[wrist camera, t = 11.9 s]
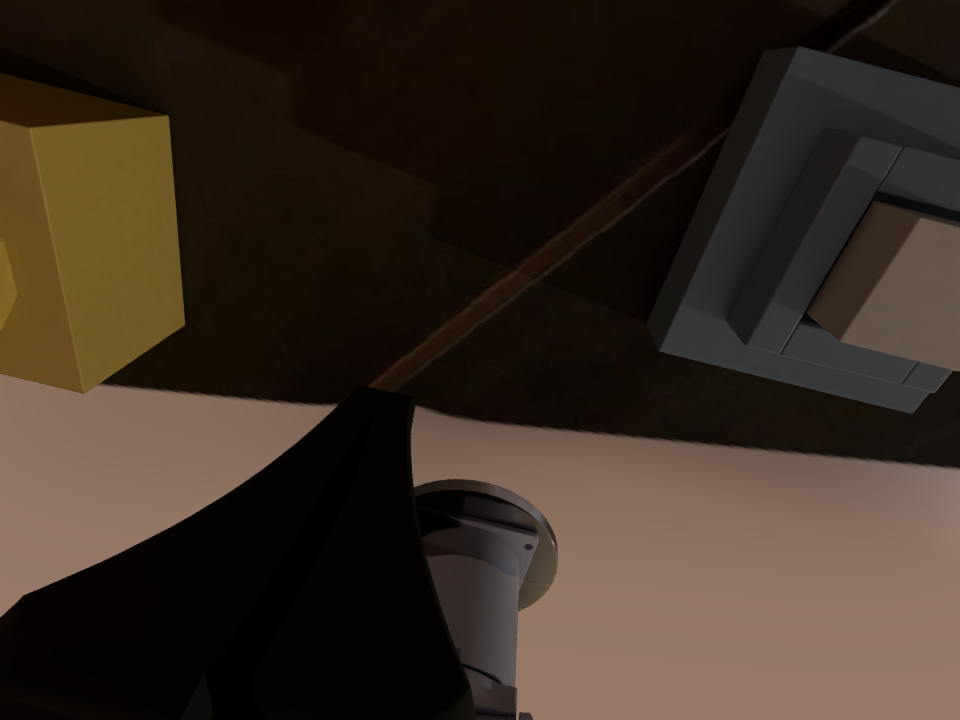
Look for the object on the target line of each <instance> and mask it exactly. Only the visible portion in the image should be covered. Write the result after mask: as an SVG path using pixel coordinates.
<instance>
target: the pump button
mask: <svg viewBox="0 0 960 720" xmlns="http://www.w3.org/2000/svg"><path fill="white" fill-rule="evenodd" d="M807 314H808V315H809V316H810V317H811V318H813V319H814V320H815V321H816V322H817V323H818V324H819V325H821V326H822V327H823V328H824V329H825V330H826V331H828V332H829V333H830V334H831V335H832V336H833V337H835V338H836V339H837V340H838V341H839V342H843V343H847V344H851V345H855V346H859V347H863V348H867V349H871V350H875V351H879V352H883V353H887V354H891V355H895V356H899V357H903V358H907V359H911V360H915V361H919V362H923V363H927V364H931V365H935V366H939V367H943V368H947V369H951V370H955V371H960V222H957V221H953V220H949V219H945V218H941V217H937V216H934V215H930V214H926V213H922V212H918V211H914V210H910V209H906V208H902V207H898V206H894V205H890V204H887V203H883V202H879V201H873V202H872V204H871V205H870V207H869V209H868V210H867V212H866V214H865V215H864V217H863V219H862V220H861V222H860V224H859V225H858V227H857V229H856V230H855V232H854V234H853V235H852V237H851V239H850V240H849V242H848V244H847V245H846V247H845V249H844V250H843V252H842V254H841V255H840V257H839V259H838V260H837V262H836V264H835V265H834V267H833V269H832V271H831V272H830V274H829V276H828V277H827V279H826V281H825V282H824V284H823V286H822V287H821V289H820V291H819V292H818V294H817V296H816V297H815V299H814V301H813V302H812V304H811V306H810V307H809V309H808V311H807Z"/></svg>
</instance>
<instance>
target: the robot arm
mask: <svg viewBox="0 0 960 720" xmlns="http://www.w3.org/2000/svg"><path fill="white" fill-rule="evenodd" d="M415 406H416V401H415V400H414V399H413V397H410V396H405V395H401V394H397V393H392V392H388V391H384V390H379V389H375V388H371V387H366V386H362V385H359V386H357V387H356V388H354V389H353V390H352V392H351V393H350V394H349V395H348V396H347V397H346V398H345V399H344V400H343V401H342V402H341V403H340V404H339V405H338V406H337V407H336V408H335V409H334V410H333V411H332V412H331V413H330V414H329V415H328V416H326V417H325V418H324V419H323V420H322V421H321V422H320V423H319V424H318V425H317V426H316V427H314V428H313V429H312V430H311V431H310V432H309V433H308V434H306V435H305V436H304V437H303V438H302V439H301V440H299V441H298V442H297V443H296V444H295V445H293V446H292V447H291V448H290V449H288V450H287V451H286V452H284V453H283V454H282V455H281V456H279V457H278V458H277V459H275V460H274V461H273V462H272V463H270V464H269V465H268V466H266V467H265V468H264V469H263V470H261V471H260V472H258V473H257V474H255V475H254V476H253V477H251V478H250V479H248V480H247V481H245V482H244V483H243V484H241V485H240V486H238V487H237V488H235V489H234V490H232V491H231V492H229V493H228V494H226V495H224V496H223V497H221V498H220V499H218V500H216V501H215V502H213V503H212V504H210V505H208V506H206V507H205V508H203V509H201V510H200V511H198V512H196V513H195V514H193V515H191V516H190V517H188V518H186V519H184V520H183V521H181V522H179V523H177V524H176V525H174V526H172V527H170V528H168V529H166V530H164V531H162V532H160V533H158V534H156V535H155V536H153V537H150V538H149V539H147V540H145V541H143V542H141V543H139V544H137V545H135V546H133V547H131V548H129V549H127V550H125V551H123V552H121V553H119V554H117V555H115V556H113V557H111V558H109V559H107V560H105V561H102V562H100V563H98V564H95V565H93V566H91V567H89V568H86V569H84V570H82V571H80V572H77V573H75V574H73V575H70V576H68V577H66V578H63V579H61V580H59V581H57V582H54V583H52V584H50V585H47V586H45V587H43V588H40V589H38V590H36V591H33V592H31V593H28V594H26V595H24V596H23V597H22V598H21V599H20V600H19V601H18V602H17V603H16V604H15V605H14V606H12V607H11V608H10V609H9V610H8V611H7V612H6V613H5V614H4V615H3V616H2V617H0V720H516V704H517V688H516V687H515V673H516V646H517V620H518V595H519V589H520V586H521V584H522V581H523V579H524V576H525V574H526V572H527V569H528V567H529V564H530V562H531V559H532V557H533V555H534V552H535V550H536V547H537V545H538V541H539V537H538V534H536V533H535V532H532V531H528V530H524V529H520V528H515V527H511V526H507V525H503V524H499V523H495V522H490V521H486V520H482V519H478V518H474V517H469V516H465V515H461V514H457V513H453V512H449V511H444V510H440V509H436V508H432V507H428V506H423V505H417V506H416V501H415V494H414V486H413V477H412V464H411V428H412V422H413V417H414V411H415ZM418 518H421V519H418ZM527 544H530V545H527ZM519 720H533V718H532V715H531V714H530V713H522V712H520V713H519Z"/></svg>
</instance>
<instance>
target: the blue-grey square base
mask: <svg viewBox="0 0 960 720" xmlns="http://www.w3.org/2000/svg"><path fill="white" fill-rule="evenodd" d="M873 201H879V202H883V203H887V204H890V205H894V206H898V207H902V208H906V209H910V210H914V211H918V212H922V213H926V214H930V215H934V216H937V217H941V218H945V219H949V220H953V221H957V222H960V88H959V87H955V86H951V85H947V84H944V83H940V82H936V81H932V80H928V79H924V78H921V77H917V76H913V75H909V74H905V73H901V72H898V71H894V70H890V69H886V68H882V67H878V66H875V65H871V64H867V63H863V62H859V61H855V60H852V59H848V58H844V57H840V56H836V55H832V54H829V53H825V52H821V51H817V50H813V49H809V48H805V47H802V46H795V47H788V48H781V49H774V50H767V51H764V52H763V54H762V56H761V59H760V61H759V63H758V66H757V68H756V70H755V73H754V75H753V77H752V80H751V82H750V84H749V87H748V89H747V91H746V94H745V96H744V98H743V101H742V103H741V105H740V108H739V110H738V112H737V114H736V117H735V119H734V121H733V124H732V126H731V128H730V131H729V133H728V135H727V138H726V140H725V142H724V145H723V147H722V149H721V152H720V154H719V156H718V159H717V161H716V163H715V166H714V168H713V170H712V173H711V175H710V177H709V180H708V182H707V184H706V187H705V189H704V191H703V194H702V196H701V198H700V201H699V203H698V205H697V208H696V210H695V212H694V215H693V217H692V219H691V222H690V224H689V226H688V229H687V231H686V233H685V235H684V238H683V240H682V242H681V245H680V247H679V249H678V252H677V254H676V256H675V259H674V261H673V263H672V266H671V268H670V270H669V273H668V275H667V277H666V280H665V282H664V284H663V287H662V289H661V291H660V294H659V296H658V298H657V301H656V303H655V305H654V308H653V310H652V312H651V315H650V317H649V319H648V322H647V326H648V328H649V330H650V332H651V335H652V337H653V339H654V341H655V343H656V346H657V348H658V350H659V351H660V352H665V353H669V354H673V355H677V356H681V357H685V358H689V359H693V360H697V361H701V362H705V363H709V364H713V365H717V366H721V367H725V368H729V369H733V370H737V371H741V372H745V373H749V374H753V375H758V376H762V377H766V378H770V379H774V380H778V381H782V382H786V383H790V384H794V385H798V386H802V387H806V388H810V389H814V390H818V391H822V392H826V393H830V394H834V395H838V396H842V397H846V398H851V399H855V400H859V401H863V402H867V403H871V404H875V405H879V406H883V407H887V408H891V409H895V410H899V411H903V412H907V413H911V414H912V413H913V412H914V411H915V410H916V409H917V407H918V406H919V405H920V404H921V402H922V401H923V400H924V399H925V397H926V396H927V395H928V394H929V392H932V393H934V392H936V391H937V389H938V388H939V387H940V386H941V384H942V383H943V382H944V381H945V380H946V378H947V377H948V376H949V375H950V373H951V372H952V371H953V370H951V369H947V368H943V367H939V366H935V365H931V364H927V363H923V362H919V361H915V360H911V359H907V358H903V357H899V356H895V355H891V354H887V353H883V352H879V351H875V350H871V349H867V348H863V347H859V346H855V345H851V344H847V343H843V342H839V341H838V340H837V339H836V338H835V337H833V336H832V335H831V334H830V333H829V332H828V331H826V330H825V329H824V328H823V327H822V326H821V325H819V324H818V323H817V322H816V321H815V320H814V319H813V318H811V317H810V316H809V315H808V314H807V311H808V309H809V307H810V306H811V304H812V302H813V301H814V299H815V297H816V296H817V294H818V292H819V291H820V289H821V287H822V286H823V284H824V282H825V281H826V279H827V277H828V276H829V274H830V272H831V271H832V269H833V267H834V265H835V264H836V262H837V260H838V259H839V257H840V255H841V254H842V252H843V250H844V249H845V247H846V245H847V244H848V242H849V240H850V239H851V237H852V235H853V234H854V232H855V230H856V229H857V227H858V225H859V224H860V222H861V220H862V219H863V217H864V215H865V214H866V212H867V210H868V209H869V207H870V205H871V204H872V202H873Z"/></svg>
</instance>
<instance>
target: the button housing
mask: <svg viewBox="0 0 960 720" xmlns="http://www.w3.org/2000/svg"><path fill="white" fill-rule="evenodd" d="M184 325H185V317H184V304H183V292H182V279H181V266H180V253H179V241H178V228H177V215H176V202H175V189H174V177H173V164H172V151H171V138H170V126H169V116H168V115H166V114H162V113H158V112H154V111H150V110H146V109H142V108H138V107H134V106H130V105H126V104H122V103H118V102H114V101H110V100H106V99H102V98H98V97H94V96H90V95H86V94H82V93H78V92H74V91H70V90H66V89H62V88H58V87H54V86H50V85H46V84H42V83H39V82H35V81H31V80H27V79H23V78H19V77H15V76H11V75H7V74H3V73H0V374H4V375H8V376H12V377H16V378H21V379H25V380H29V381H33V382H38V383H41V384H46V385H50V386H54V387H58V388H63V389H66V390H71V391H75V392H79V393H83V394H84V393H86V392H88V391H89V390H91V389H92V388H93V387H95V386H96V385H98V384H99V383H101V382H102V381H104V380H105V379H107V378H108V377H109V376H111V375H112V374H114V373H115V372H117V371H118V370H120V369H121V368H123V367H124V366H126V365H127V364H128V363H130V362H131V361H133V360H134V359H136V358H137V357H139V356H140V355H142V354H143V353H144V352H146V351H147V350H149V349H150V348H152V347H153V346H155V345H156V344H158V343H159V342H161V341H162V340H163V339H165V338H166V337H168V336H169V335H171V334H172V333H174V332H175V331H177V330H178V329H179V328H181V327H182V326H184Z"/></svg>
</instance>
